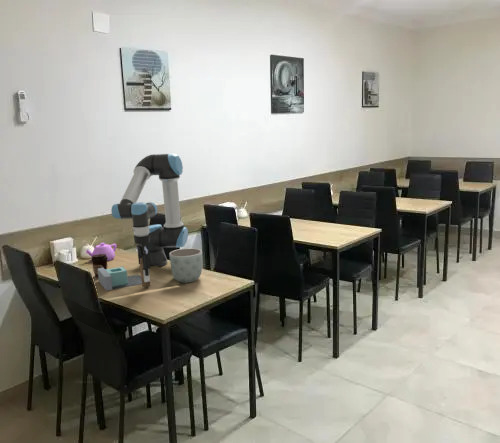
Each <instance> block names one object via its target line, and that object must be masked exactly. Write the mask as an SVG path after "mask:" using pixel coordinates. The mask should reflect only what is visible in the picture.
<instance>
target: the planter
mask: <svg viewBox="0 0 500 443" xmlns="http://www.w3.org/2000/svg"><path fill="white" fill-rule="evenodd" d="M168 255H169V256H168V257H169V261H170V262H169V263H170V270H171V274H172V277H173V278H174V280H175V281H177V282H179V283H182V284H188V282H189V283H193V282H197V280H199V278H200V277H201V274H202V272H203V270H202V268H203V265H202V264H203V251H202V250H201V249H199V248H193V247H191V248H179V249H175V250H171V251H170V252H169V253H168Z"/></svg>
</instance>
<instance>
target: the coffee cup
mask: <svg viewBox="0 0 500 443" xmlns="http://www.w3.org/2000/svg"><path fill="white" fill-rule="evenodd" d="M107 259H108V257H107V256H106V254H98V255H93V256H92V257H91V262H92V269H93V274H94V277H95V278H96V279H97V278H98V268H104V269H108V261H107Z"/></svg>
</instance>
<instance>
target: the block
mask: <svg viewBox="0 0 500 443" xmlns="http://www.w3.org/2000/svg"><path fill="white" fill-rule="evenodd" d="M105 270H106V271H107V272H108V273H109V274H110V276H111V281H112V287H114V286H115V287H116V286H117V287H120V286H119V285H123V286H124V285H125V284H128V282H129V281H128V279H129V278H128V277H127V276H128V270H126V268H125V267H123V266H120V267H119V266H118V267H113V268H107V269H105Z"/></svg>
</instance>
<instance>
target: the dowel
mask: <svg viewBox="0 0 500 443" xmlns="http://www.w3.org/2000/svg"><path fill="white" fill-rule="evenodd" d="M139 266H140V268H139V269H140V277H141V278H140V279H142V280H141V282H142V284H141V286H142V287H144V288H145V287H147V288H148V287H150V286H151V280H150V281H149V282H144V274H143V270H142V269H144V267H143V260H142V258H140V264H139Z"/></svg>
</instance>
